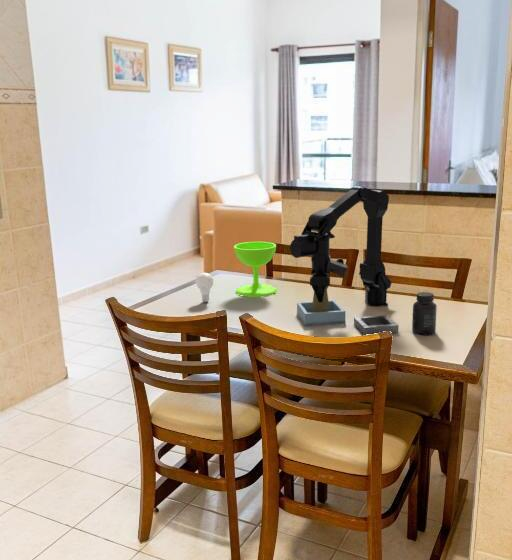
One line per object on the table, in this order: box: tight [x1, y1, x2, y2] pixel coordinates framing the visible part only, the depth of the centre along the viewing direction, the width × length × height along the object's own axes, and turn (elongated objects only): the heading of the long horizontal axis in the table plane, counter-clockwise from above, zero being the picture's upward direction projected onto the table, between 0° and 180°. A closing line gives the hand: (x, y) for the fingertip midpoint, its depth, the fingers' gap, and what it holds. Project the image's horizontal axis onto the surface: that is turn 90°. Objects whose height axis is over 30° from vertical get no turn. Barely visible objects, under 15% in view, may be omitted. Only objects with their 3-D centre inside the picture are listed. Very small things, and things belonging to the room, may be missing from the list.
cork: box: [312, 286, 330, 312], centre depth 199 cm, size 6×6×11 cm
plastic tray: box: [296, 299, 346, 327], centre depth 200 cm, size 13×13×4 cm
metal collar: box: [353, 314, 399, 336], centre depth 189 cm, size 11×11×2 cm
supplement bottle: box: [411, 291, 438, 337], centre depth 184 cm, size 7×7×12 cm
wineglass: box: [233, 241, 278, 298], centre depth 233 cm, size 16×16×18 cm
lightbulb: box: [195, 272, 214, 303], centre depth 222 cm, size 6×6×11 cm
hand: (320, 300), depth 199 cm, fingers closed on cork, 4 cm apart
